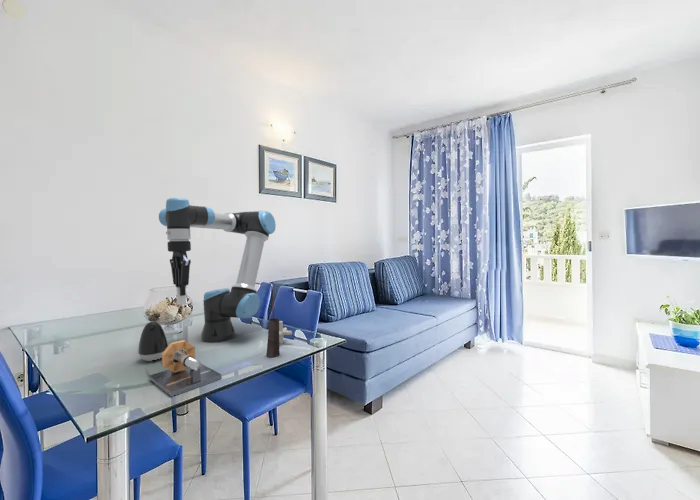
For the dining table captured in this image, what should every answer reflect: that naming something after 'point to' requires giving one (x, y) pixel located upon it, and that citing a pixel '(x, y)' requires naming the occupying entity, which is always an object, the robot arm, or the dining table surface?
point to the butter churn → (273, 335)
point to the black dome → (152, 342)
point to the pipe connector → (283, 332)
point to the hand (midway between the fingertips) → (181, 304)
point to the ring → (171, 350)
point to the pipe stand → (185, 376)
